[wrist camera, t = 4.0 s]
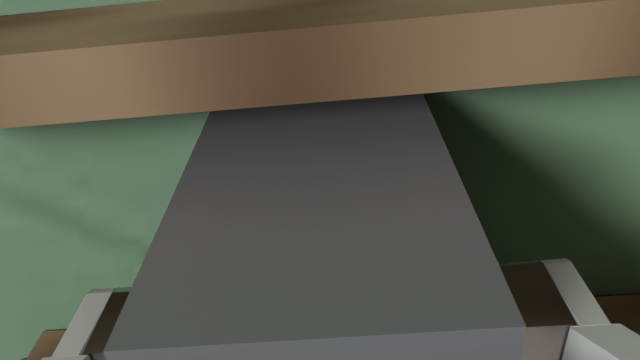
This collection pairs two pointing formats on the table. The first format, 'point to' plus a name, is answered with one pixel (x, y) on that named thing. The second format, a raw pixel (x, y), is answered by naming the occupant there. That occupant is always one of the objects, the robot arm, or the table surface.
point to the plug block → (320, 245)
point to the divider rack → (300, 60)
